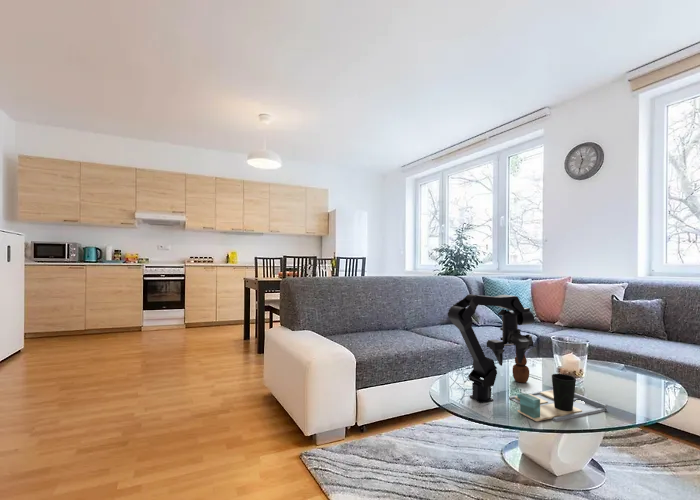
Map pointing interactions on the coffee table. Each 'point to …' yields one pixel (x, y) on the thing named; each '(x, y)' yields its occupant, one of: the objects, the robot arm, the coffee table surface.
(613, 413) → the coffee table surface
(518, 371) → the wooden figurine
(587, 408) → the lane board
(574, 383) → the cup
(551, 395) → the broken strip
